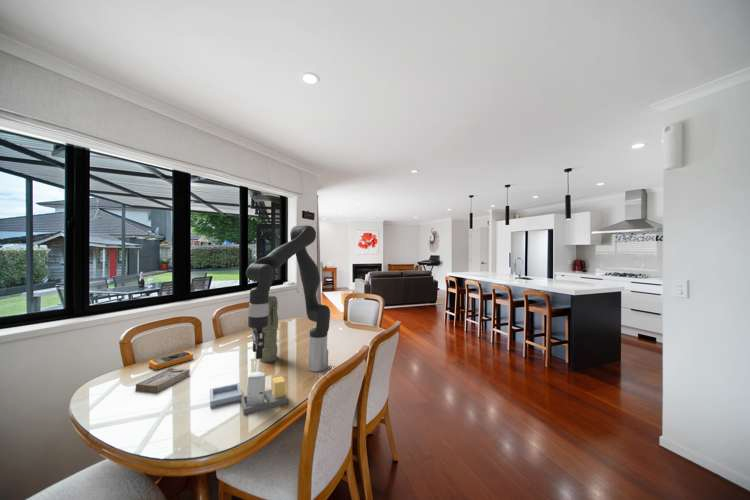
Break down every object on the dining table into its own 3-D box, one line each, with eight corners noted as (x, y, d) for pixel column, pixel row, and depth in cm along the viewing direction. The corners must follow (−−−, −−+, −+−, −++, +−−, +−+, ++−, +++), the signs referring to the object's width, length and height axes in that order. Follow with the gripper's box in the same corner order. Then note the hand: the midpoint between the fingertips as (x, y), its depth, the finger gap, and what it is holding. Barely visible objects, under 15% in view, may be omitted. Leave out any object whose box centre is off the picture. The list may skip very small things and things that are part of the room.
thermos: (267, 364, 147) (269, 298, 147) (255, 358, 154) (257, 296, 154) (282, 359, 155) (284, 296, 155) (269, 354, 162) (271, 294, 162)
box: (134, 391, 118) (134, 384, 118) (170, 373, 135) (170, 367, 135) (156, 394, 116) (156, 386, 116) (190, 375, 133) (190, 369, 133)
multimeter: (194, 359, 152) (194, 353, 152) (155, 371, 136) (155, 364, 136) (186, 356, 156) (187, 349, 156) (147, 367, 141) (148, 360, 141)
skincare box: (246, 408, 107) (247, 377, 107) (248, 402, 112) (249, 372, 112) (263, 406, 109) (264, 376, 109) (265, 400, 113) (265, 371, 113)
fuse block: (281, 392, 120) (282, 373, 120) (287, 403, 112) (287, 383, 112) (240, 401, 112) (241, 381, 112) (243, 414, 103) (244, 393, 103)
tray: (239, 388, 122) (239, 382, 122) (241, 400, 113) (242, 394, 113) (209, 394, 116) (210, 388, 116) (210, 408, 107) (210, 401, 107)
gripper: (272, 317, 106) (270, 359, 106) (265, 309, 118) (264, 347, 118) (250, 319, 102) (249, 363, 102) (246, 311, 114) (244, 350, 114)
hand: (257, 354), depth 110 cm, fingers open, 8 cm apart
